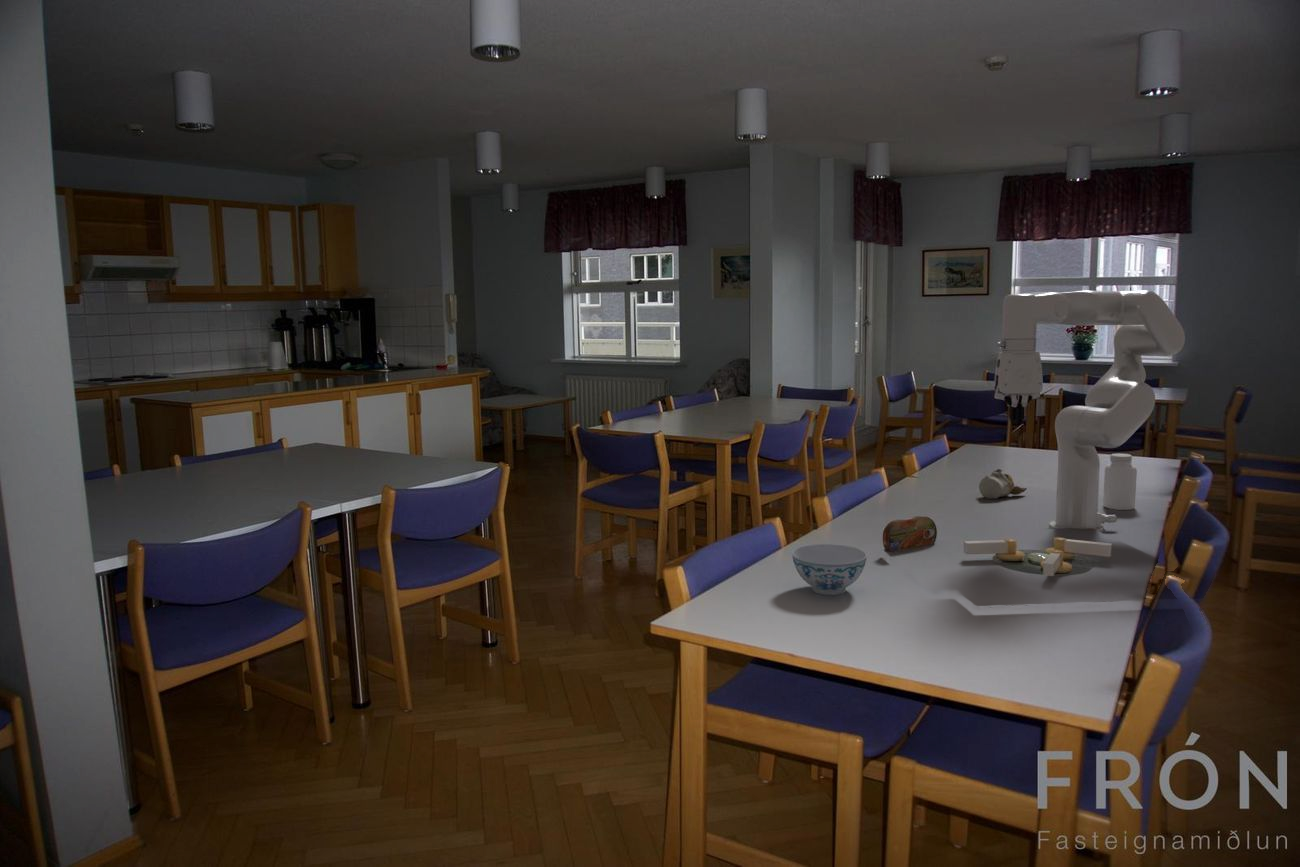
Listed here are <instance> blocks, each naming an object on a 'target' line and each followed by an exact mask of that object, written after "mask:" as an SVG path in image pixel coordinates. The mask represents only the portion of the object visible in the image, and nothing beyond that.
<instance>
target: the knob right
mask: <svg viewBox="0 0 1300 867" xmlns="http://www.w3.org/2000/svg"><path fill="white" fill-rule="evenodd" d="M1050 550H1061V551H1063V559H1073V558H1075V556H1076V554H1080V555H1081V554H1082V555H1088V556H1089V555H1091V556H1098V557H1107V558H1111V557H1112V543H1111V542H1110V543H1109V542H1101V541H1100V542H1099V541H1090V540H1082V539H1081V540H1078V539H1069V538H1065V537H1059V536H1058V537H1053V547H1047V548H1045V550H1044V551H1045V554H1050Z"/></svg>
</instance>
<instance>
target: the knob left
mask: <svg viewBox="0 0 1300 867" xmlns="http://www.w3.org/2000/svg"><path fill="white" fill-rule="evenodd" d="M1017 544H1018V542H1017V539H1014V538H1013V539H1012V538H1006V539H995V540H994V539H993V540H970V541H969V540H966V541H963V553H964V554H965V555H987V554H989V555H993V554H994V555H995V557H996V558H998V559H1001V560H1007V561H1020V560H1024V555H1025V554H1024V553H1023V552H1021V551H1018V550H1019V549H1017Z"/></svg>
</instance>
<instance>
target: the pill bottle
mask: <svg viewBox="0 0 1300 867" xmlns="http://www.w3.org/2000/svg"><path fill="white" fill-rule="evenodd" d="M1109 457H1110V459H1109V460H1110V463H1107V464H1106V466H1105V468H1104V479H1103V482H1104V483H1103V496H1102V497H1103V500H1102V505H1103V507H1104V508H1107V509H1111V510H1116V511H1117V510H1118V511H1129V510H1134V509H1135V507H1136V506H1135V505H1136V495H1137V494H1136V492H1137V479H1138V478H1137V476H1138V475H1137V474H1138V470H1137V466H1135V465H1134V464H1132V463H1133V462H1132V460H1133V455H1132V454H1129V453H1118V452H1117V453H1112V454H1110V456H1109Z"/></svg>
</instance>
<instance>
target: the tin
mask: <svg viewBox="0 0 1300 867" xmlns="http://www.w3.org/2000/svg"><path fill="white" fill-rule="evenodd" d="M937 534H938V530H937V525H936V523H935V522H934V520H933V519H932V518H930V517H929V516H922V515H917V516H911V517H905V518H900V519H894V520H891V521H890V522H889V523H887V525H885V527H884V529H883V532H882V545H883V548H884V550H886V551H889V552H892V553H893V552H896V551H901V550H906V549H912V548H916V547H922V546H926V545H934V544H936V540H937V537H938V535H937Z"/></svg>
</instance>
